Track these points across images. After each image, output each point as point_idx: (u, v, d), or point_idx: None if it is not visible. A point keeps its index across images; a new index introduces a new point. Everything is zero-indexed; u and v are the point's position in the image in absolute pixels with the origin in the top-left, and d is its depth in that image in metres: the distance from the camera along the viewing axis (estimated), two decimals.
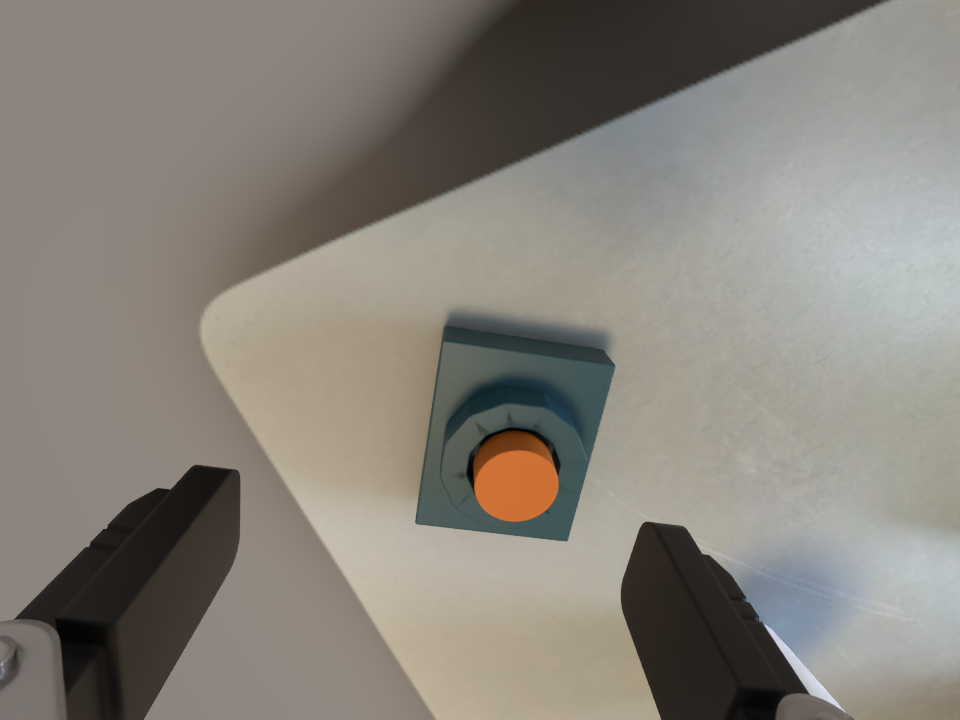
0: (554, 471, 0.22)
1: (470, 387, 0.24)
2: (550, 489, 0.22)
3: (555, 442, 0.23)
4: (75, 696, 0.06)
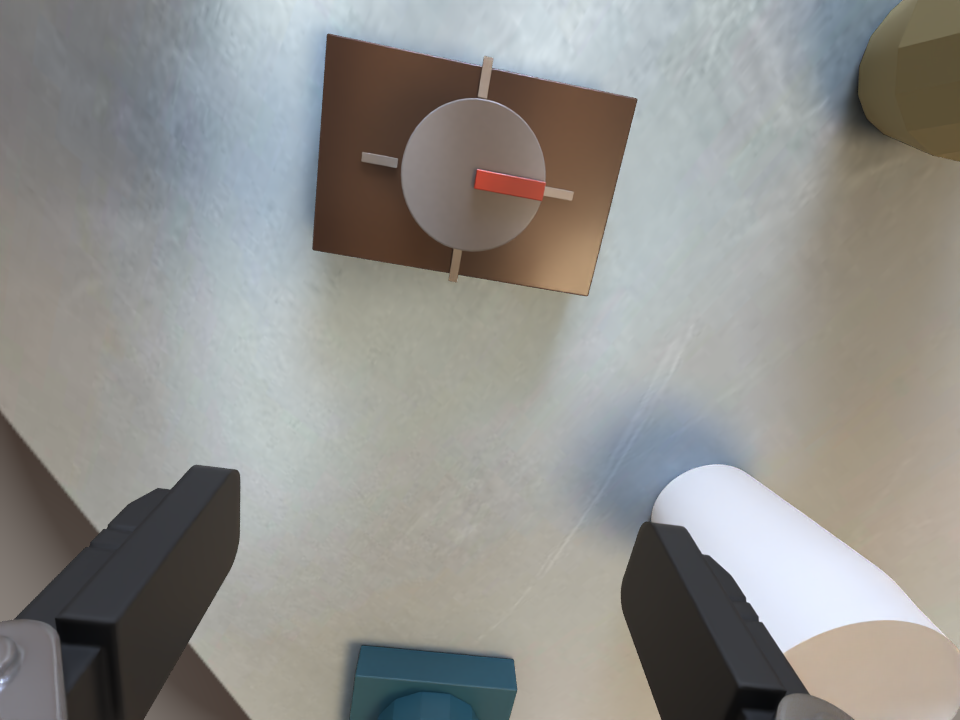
0: None
1: None
2: None
3: None
4: (75, 696, 0.06)
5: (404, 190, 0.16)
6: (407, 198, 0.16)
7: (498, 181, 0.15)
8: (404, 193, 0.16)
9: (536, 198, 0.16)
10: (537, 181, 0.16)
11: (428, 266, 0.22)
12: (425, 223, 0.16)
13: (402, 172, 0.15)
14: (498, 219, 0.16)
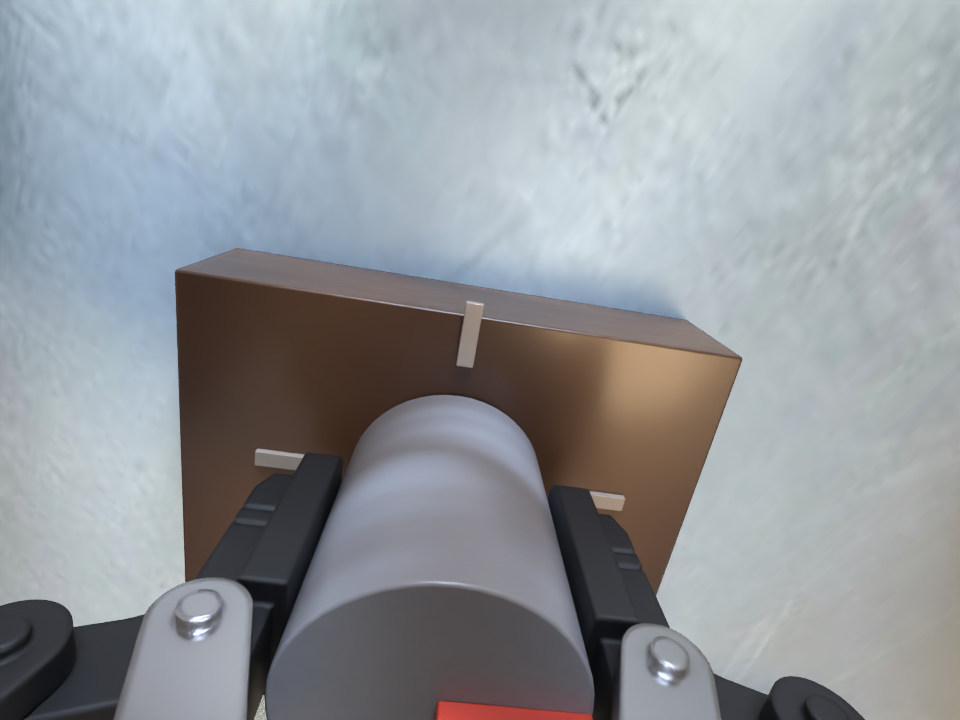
0: None
1: None
2: None
3: None
4: (260, 644, 0.07)
5: None
6: None
7: None
8: None
9: None
10: None
11: None
12: None
13: (266, 711, 0.07)
14: None
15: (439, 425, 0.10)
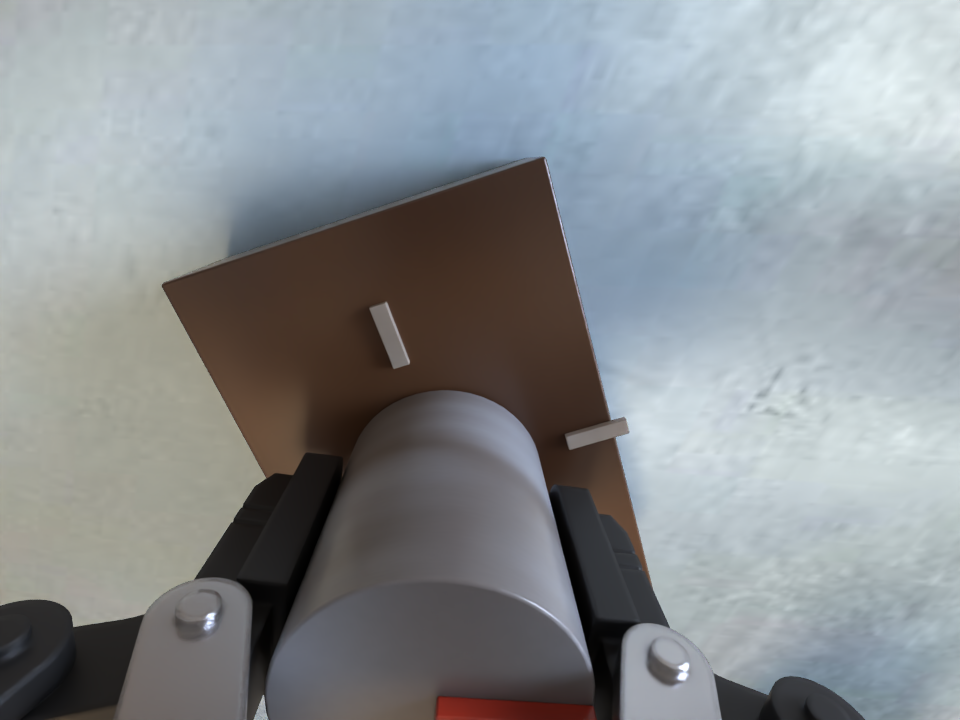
0: None
1: None
2: None
3: None
4: (259, 644, 0.07)
5: None
6: None
7: None
8: None
9: None
10: None
11: None
12: None
13: (267, 712, 0.07)
14: None
15: (435, 421, 0.10)
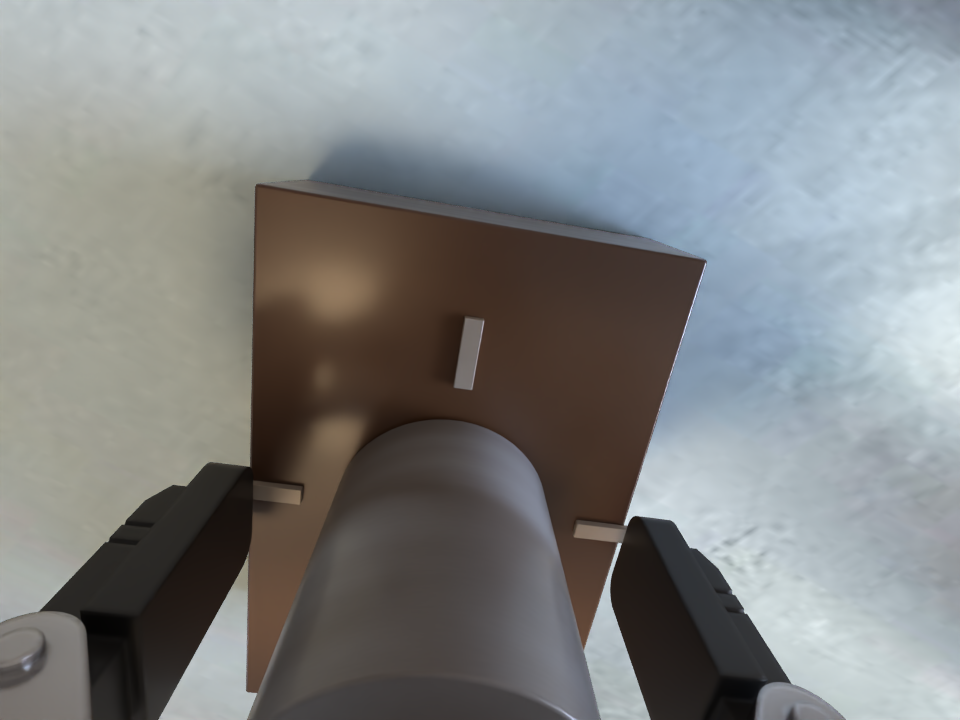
0: None
1: None
2: None
3: None
4: (100, 686, 0.06)
5: None
6: None
7: None
8: None
9: None
10: None
11: (256, 441, 0.10)
12: None
13: None
14: None
15: (423, 458, 0.09)
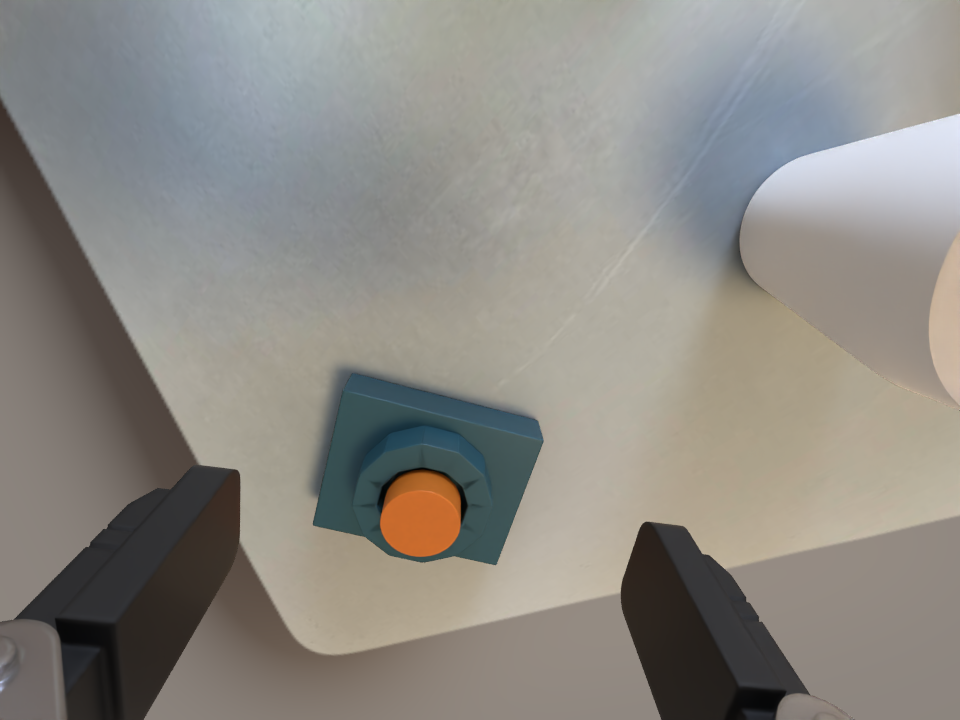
0: (406, 493, 0.23)
1: None
2: (426, 498, 0.23)
3: (395, 470, 0.24)
4: (75, 696, 0.06)
5: None
6: None
7: None
8: None
9: None
10: None
11: None
12: None
13: None
14: None
15: None
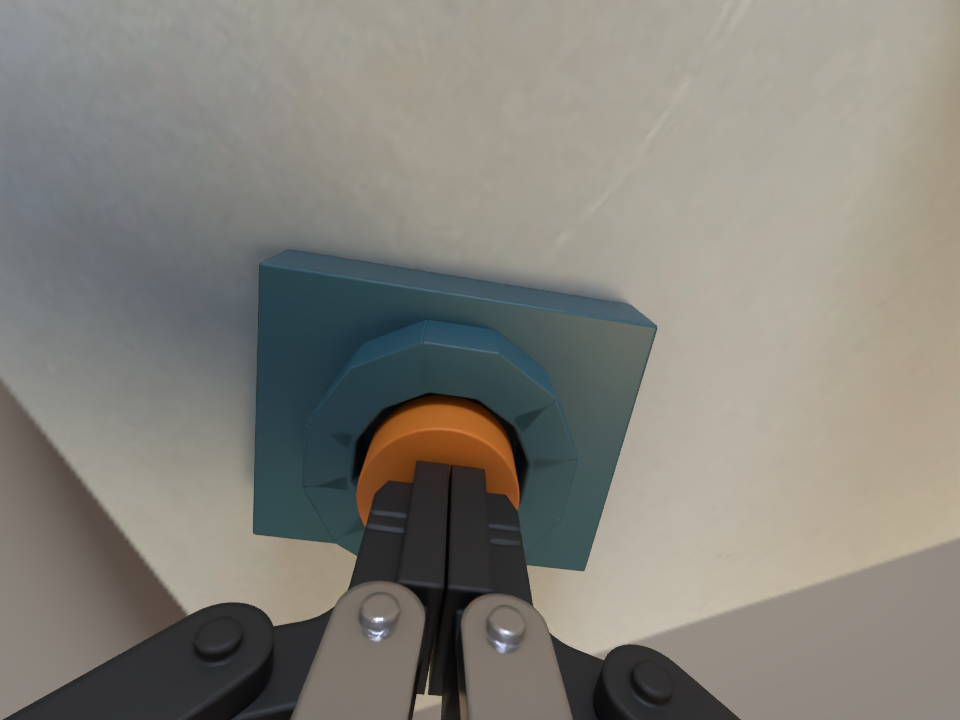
0: (400, 438, 0.11)
1: None
2: (443, 443, 0.11)
3: (377, 405, 0.12)
4: None
5: None
6: None
7: None
8: None
9: None
10: None
11: None
12: None
13: None
14: None
15: None
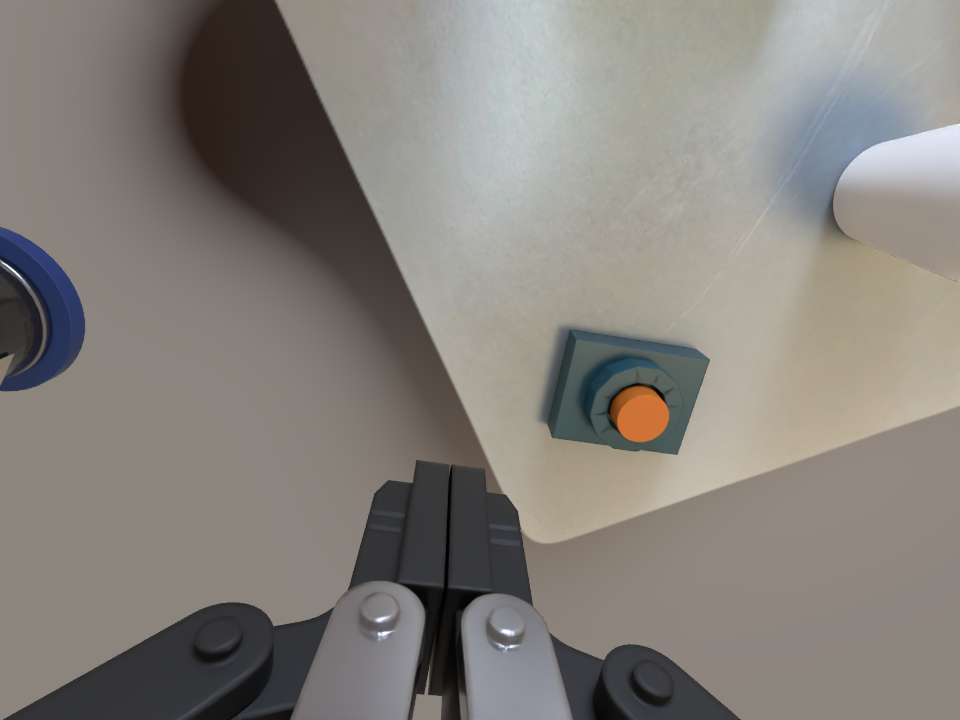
0: (634, 398, 0.35)
1: (583, 423, 0.39)
2: (647, 399, 0.35)
3: (620, 386, 0.36)
4: None
5: None
6: None
7: None
8: None
9: None
10: None
11: None
12: None
13: None
14: None
15: None
